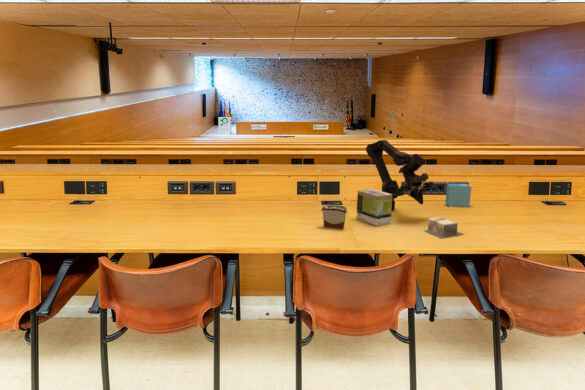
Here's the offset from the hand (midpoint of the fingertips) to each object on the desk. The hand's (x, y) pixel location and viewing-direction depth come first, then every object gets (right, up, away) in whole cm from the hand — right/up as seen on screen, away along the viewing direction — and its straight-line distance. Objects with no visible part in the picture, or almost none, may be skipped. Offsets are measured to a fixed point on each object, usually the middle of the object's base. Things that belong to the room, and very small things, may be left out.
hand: (422, 204), depth 217 cm
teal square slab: (+29, -2, +34) cm, 45 cm away
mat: (+6, -13, -12) cm, 19 cm away
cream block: (+4, -9, -7) cm, 12 cm away
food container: (-42, -11, -4) cm, 44 cm away
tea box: (-23, -9, +5) cm, 25 cm away
